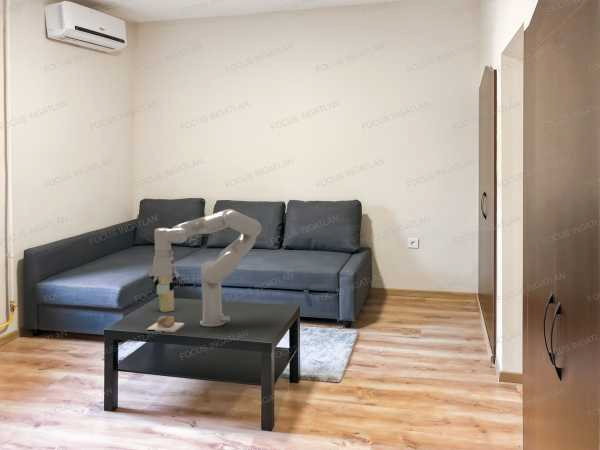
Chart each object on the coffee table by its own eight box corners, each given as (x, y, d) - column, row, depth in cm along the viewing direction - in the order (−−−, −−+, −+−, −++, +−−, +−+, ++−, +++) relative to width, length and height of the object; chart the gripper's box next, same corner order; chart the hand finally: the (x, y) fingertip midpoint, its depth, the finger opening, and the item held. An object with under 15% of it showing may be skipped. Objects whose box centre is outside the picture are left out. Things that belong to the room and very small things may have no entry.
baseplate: (184, 324, 279) (184, 323, 279) (174, 332, 268) (174, 330, 268) (157, 323, 282) (157, 321, 282) (147, 330, 270) (146, 328, 270)
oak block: (174, 324, 277) (174, 316, 277) (169, 327, 271) (168, 319, 271) (162, 323, 278) (162, 315, 278) (157, 327, 272) (157, 319, 272)
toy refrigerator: (157, 309, 310) (156, 271, 307) (170, 307, 313) (169, 270, 311) (161, 312, 303) (159, 274, 300) (174, 310, 306) (173, 272, 304)
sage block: (171, 290, 276) (171, 282, 276) (169, 293, 270) (169, 285, 270) (159, 290, 276) (159, 282, 275) (156, 293, 270) (156, 285, 269)
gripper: (183, 252, 273) (184, 288, 275) (149, 251, 276) (151, 287, 278) (176, 255, 265) (178, 292, 267) (142, 254, 269) (144, 290, 271)
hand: (164, 289), depth 273 cm, fingers closed on sage block, 6 cm apart
